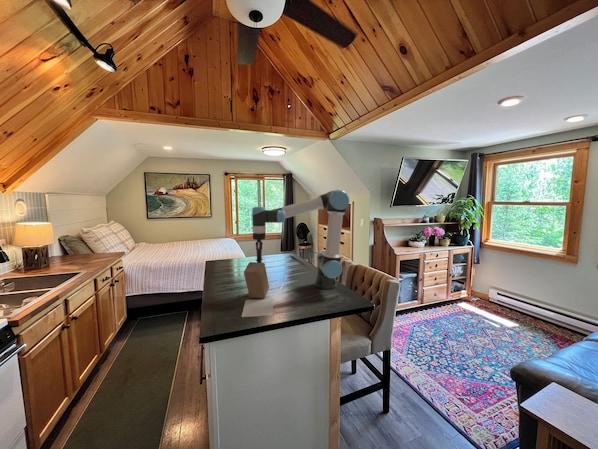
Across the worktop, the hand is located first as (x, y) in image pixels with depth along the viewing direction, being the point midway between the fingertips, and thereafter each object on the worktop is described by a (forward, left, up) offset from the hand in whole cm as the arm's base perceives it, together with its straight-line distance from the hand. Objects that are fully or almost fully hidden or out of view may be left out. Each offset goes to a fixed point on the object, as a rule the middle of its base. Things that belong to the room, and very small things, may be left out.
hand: (259, 270), depth 152 cm
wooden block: (0, +1, -14) cm, 14 cm away
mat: (0, +17, -16) cm, 23 cm away
